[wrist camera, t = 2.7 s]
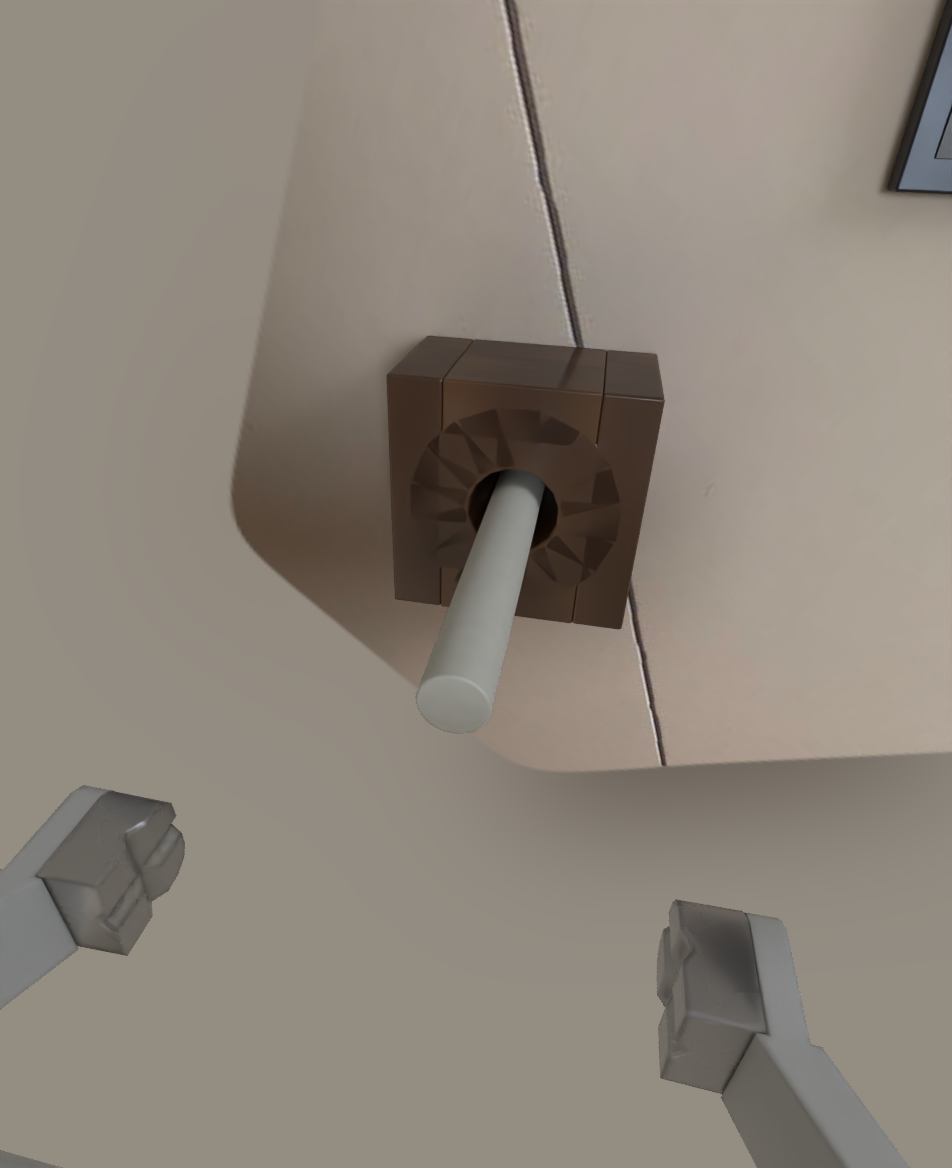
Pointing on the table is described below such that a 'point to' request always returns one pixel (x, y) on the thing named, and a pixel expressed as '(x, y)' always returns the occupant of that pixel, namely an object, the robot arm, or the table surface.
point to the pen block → (523, 467)
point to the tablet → (930, 123)
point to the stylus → (482, 610)
